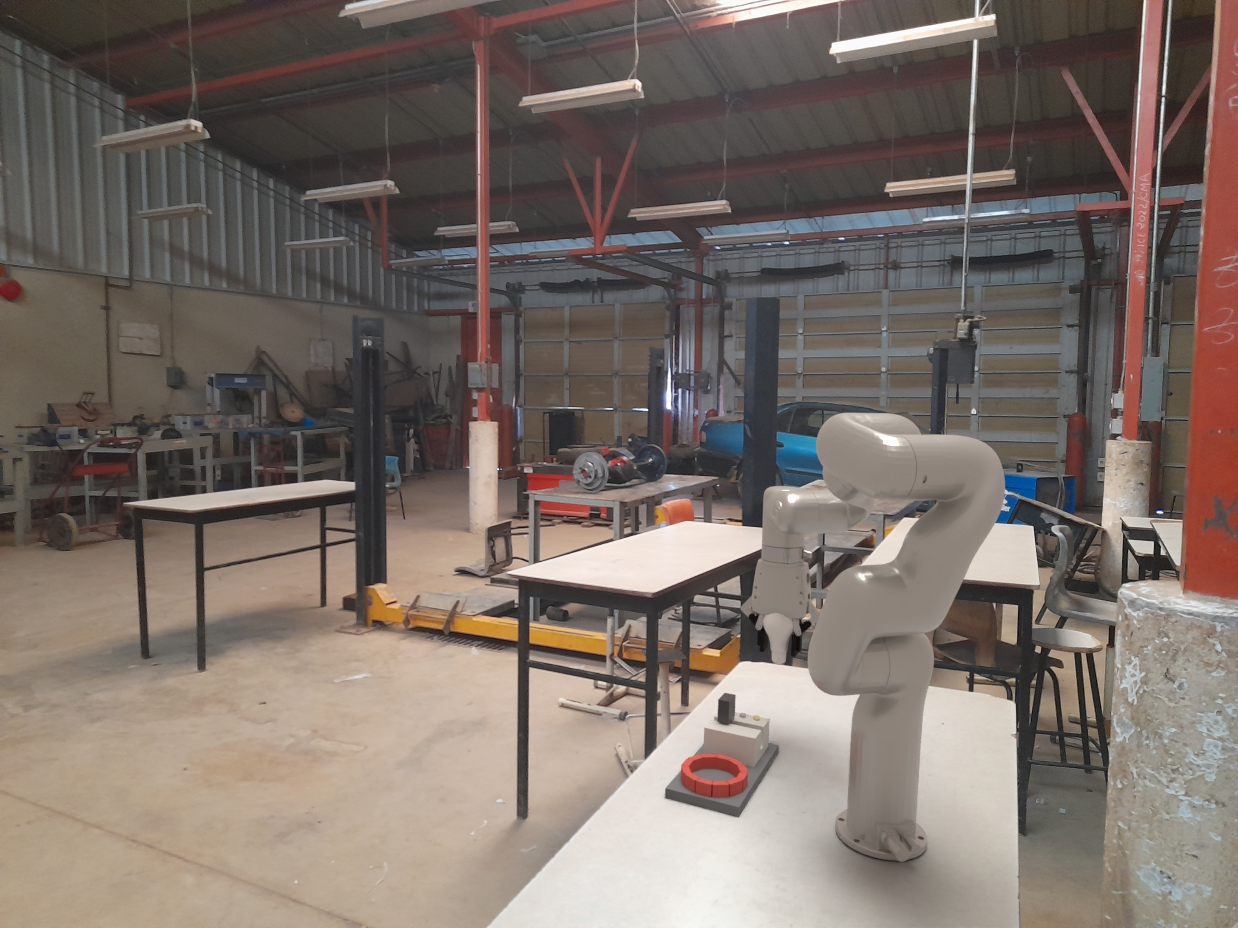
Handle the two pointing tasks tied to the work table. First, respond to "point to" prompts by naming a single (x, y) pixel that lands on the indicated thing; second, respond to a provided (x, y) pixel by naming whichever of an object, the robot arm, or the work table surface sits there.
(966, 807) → the work table surface
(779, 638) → the lightbulb
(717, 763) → the multicoloured piece
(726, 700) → the block
